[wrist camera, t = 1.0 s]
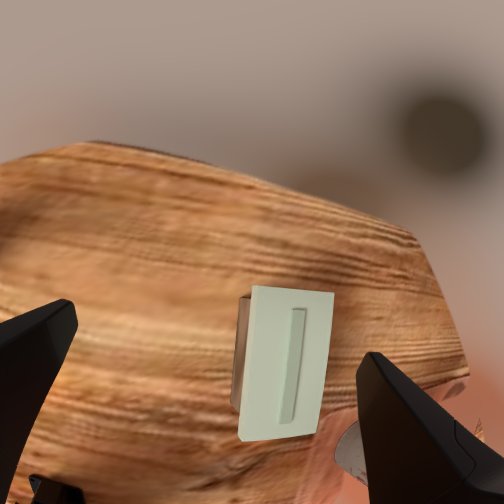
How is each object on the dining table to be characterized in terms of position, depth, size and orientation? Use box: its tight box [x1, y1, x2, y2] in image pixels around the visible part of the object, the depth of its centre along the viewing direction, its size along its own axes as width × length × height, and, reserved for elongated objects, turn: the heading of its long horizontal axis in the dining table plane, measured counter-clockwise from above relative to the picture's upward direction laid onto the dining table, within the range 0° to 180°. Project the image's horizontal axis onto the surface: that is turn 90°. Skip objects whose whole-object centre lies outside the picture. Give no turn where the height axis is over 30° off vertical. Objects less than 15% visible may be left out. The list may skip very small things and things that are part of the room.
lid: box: [238, 285, 334, 442], centre depth 20 cm, size 12×6×2 cm, turn 173°
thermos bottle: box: [335, 421, 368, 487], centre depth 15 cm, size 8×8×28 cm
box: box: [230, 298, 251, 414], centre depth 23 cm, size 10×5×5 cm, turn 173°
